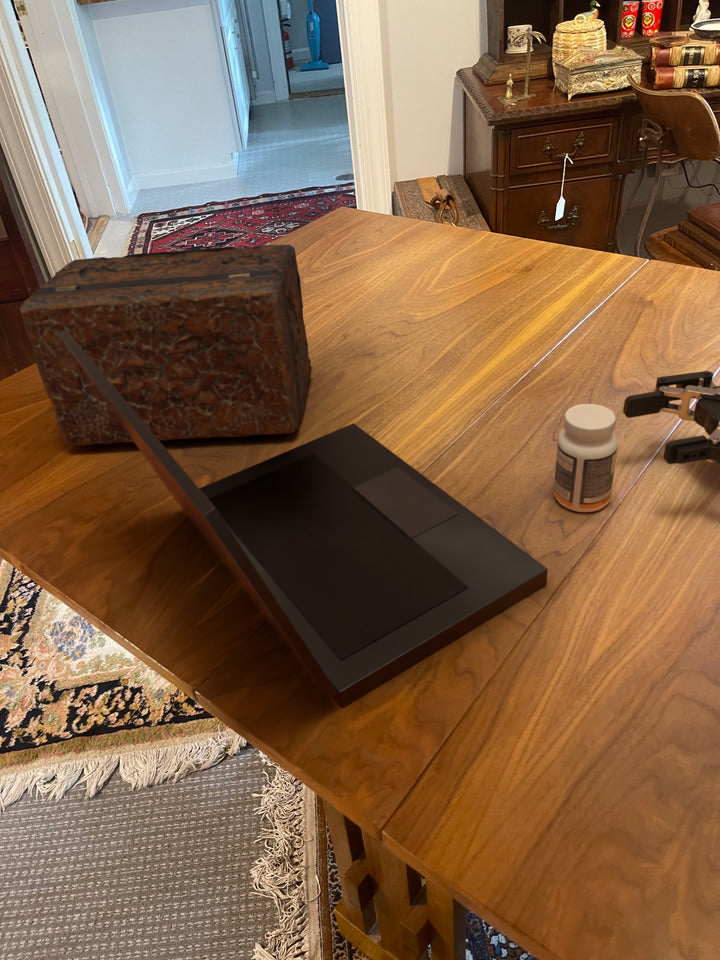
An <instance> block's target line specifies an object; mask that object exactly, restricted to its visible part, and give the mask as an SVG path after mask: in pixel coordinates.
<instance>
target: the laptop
mask: <svg viewBox="0 0 720 960" xmlns="http://www.w3.org/2000/svg"><path fill="white" fill-rule="evenodd" d="M198 488H199V489H200V490H201V491H202V492H203V494H204V495H205V496H206V497H207V498H208V499H209V501H210V502H211V503H212V504H213V505H214V507H215V508H216V509H217V511H218V512H219V514H220V515H221V517H222V518H223V520H224V522H225V523H226V525H227V526H228V528H229V529H230V531H231V532H232V534H233V535H234V537H235V538H236V540H237V541H238V543H239V544H240V546H241V547H242V549H243V550H244V552H245V553H246V555H247V556H248V558H249V559H250V561H251V562H252V564H253V565H254V567H255V568H256V570H257V571H258V573H259V575H260V576H261V578H262V579H263V581H264V582H265V584H266V585H267V587H268V588H269V590H270V591H271V593H272V594H273V596H274V597H275V599H276V600H277V602H278V603H279V605H280V606H281V608H282V609H283V611H284V612H285V614H286V615H287V617H288V618H289V620H290V621H291V623H292V624H293V626H294V627H295V629H296V631H297V632H298V634H299V635H300V637H301V638H302V640H303V641H304V643H305V644H306V646H307V647H308V649H309V650H310V652H311V653H312V655H313V656H314V658H315V659H316V661H317V662H318V664H319V665H320V667H321V668H322V670H323V671H324V673H325V674H326V676H327V677H328V679H329V680H330V682H331V684H332V685H333V687H334V688H335V690H336V691H337V694H336V695H335V696H334V697H333V699H334V700H335V702H337V704H338V705H339V706H340V708H341V709H342V708H345V707H346V706H347V705H350V704H351V703H353V702H354V701H356V700H358V699H360V698H361V697H362V696H364V695H366V694H368V693H370V692H372V691H373V690H375V689H376V688H378V687H379V686H382V684H384V683H386V682H388V681H389V680H391V679H393V678H394V677H396V676H398V675H399V674H401V673H403V672H404V671H406V670H408V669H409V668H411V667H412V666H414V665H416V664H418V663H419V662H421V661H422V660H424V659H425V658H428V657H429V656H431V655H432V654H434V653H436V652H438V651H439V650H440V649H443V648H444V647H445V646H448V645H449V644H451V643H452V642H454V641H455V640H457V639H459V638H461V637H463V636H465V634H467V633H469V632H470V631H472V630H474V629H475V628H477V627H479V626H481V625H482V624H483V623H486V622H487V621H489V620H490V619H492V618H493V617H495V616H497V615H499V614H500V613H503V611H505V610H507V609H509V608H510V607H512V606H514V605H515V604H517V603H518V602H520V601H522V600H523V599H525V598H527V597H529V596H530V595H532V594H534V593H535V592H537V591H538V590H540V589H542V588H544V587H545V586H547V582H548V571H549V569H548V568H547V567H546V566H545V565H543V564H542V563H541V562H540V561H538V560H537V559H535V558H534V557H532V555H530V554H529V553H527V552H526V551H525V550H523V549H522V548H521V547H519V546H518V545H517V544H515V543H514V542H513V541H511V540H510V539H509V538H508V537H506V536H505V535H503V534H502V533H501V532H499V531H498V530H497V529H496V528H494V527H493V526H491V524H489V523H488V522H486V521H485V520H483V518H481V517H479V516H478V515H477V514H475V513H474V512H473V511H471V510H470V509H469V508H468V507H466V506H465V505H463V504H462V503H461V502H459V501H458V500H457V499H455V498H454V497H453V496H452V495H450V494H449V493H447V492H446V491H445V490H443V489H442V488H441V487H440V486H438V485H437V484H435V483H434V482H433V481H431V480H430V479H429V478H427V477H426V476H425V475H424V474H422V473H421V472H420V471H418V470H416V469H415V467H413V466H412V465H411V464H409V463H408V462H406V461H405V460H404V459H402V458H401V457H400V456H399V455H397V454H395V453H394V452H393V451H391V450H390V449H389V448H387V446H385V445H383V443H381V442H380V441H378V440H377V439H376V438H375V437H373V436H371V434H369V433H368V432H366V431H365V430H364V429H362V428H361V427H360V426H358V425H357V424H356V423H350V424H348V425H346V426H343V427H340V428H338V429H336V430H333V431H331V432H329V433H326V434H325V435H323V436H320V437H317V438H315V439H312V440H310V441H307V442H305V443H304V444H301V445H298V446H296V447H294V448H291V449H289V450H287V451H285V452H281V453H280V454H279V453H278V454H277V455H275V456H272V457H270V458H268V459H265V460H263V461H261V462H258V463H256V464H254V465H251V466H248V467H247V468H244V469H241V470H239V471H237V472H235V473H232V474H230V475H228V476H226V477H223V478H221V479H219V480H216V481H213V482H211V483H209V484H206V485H204V486H202V487H198Z"/></svg>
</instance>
